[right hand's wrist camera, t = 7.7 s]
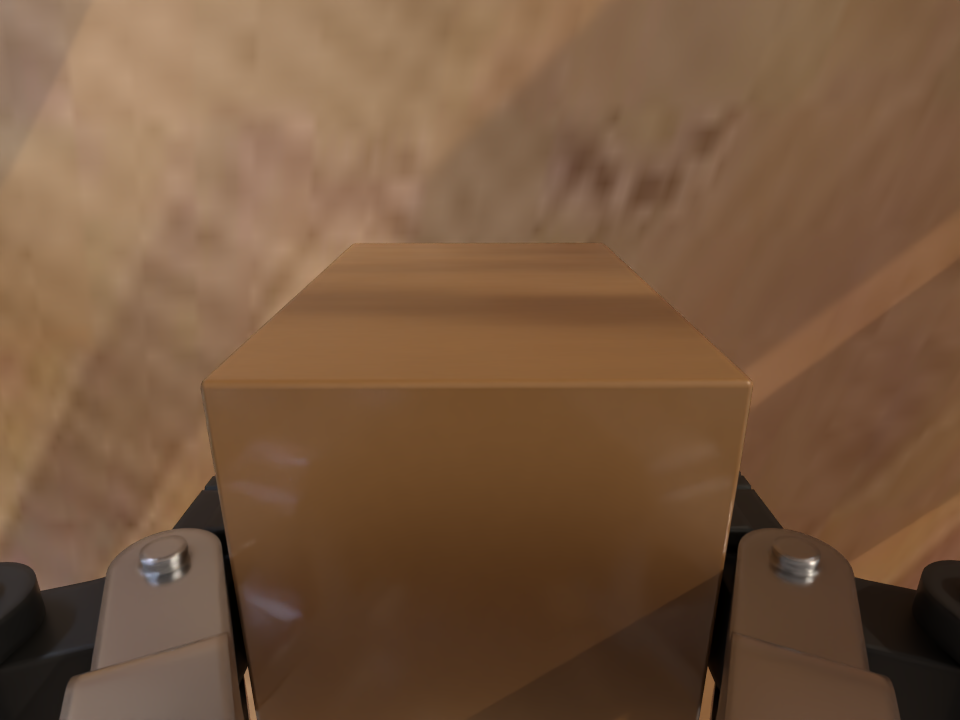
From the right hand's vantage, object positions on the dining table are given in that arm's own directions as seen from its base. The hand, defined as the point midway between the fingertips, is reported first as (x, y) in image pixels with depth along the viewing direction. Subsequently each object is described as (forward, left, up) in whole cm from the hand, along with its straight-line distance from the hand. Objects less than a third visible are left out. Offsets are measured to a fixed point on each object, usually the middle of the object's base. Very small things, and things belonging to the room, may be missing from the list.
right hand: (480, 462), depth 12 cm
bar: (+8, +2, -4) cm, 10 cm away
